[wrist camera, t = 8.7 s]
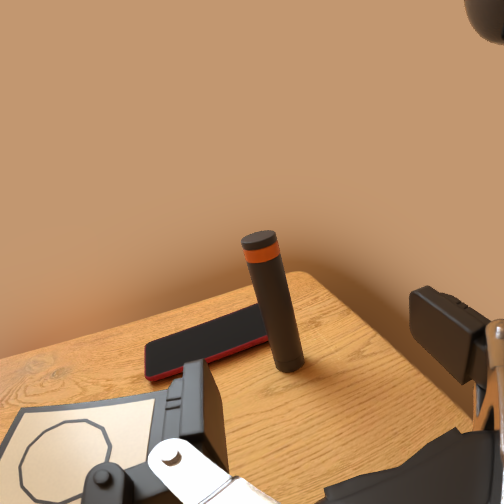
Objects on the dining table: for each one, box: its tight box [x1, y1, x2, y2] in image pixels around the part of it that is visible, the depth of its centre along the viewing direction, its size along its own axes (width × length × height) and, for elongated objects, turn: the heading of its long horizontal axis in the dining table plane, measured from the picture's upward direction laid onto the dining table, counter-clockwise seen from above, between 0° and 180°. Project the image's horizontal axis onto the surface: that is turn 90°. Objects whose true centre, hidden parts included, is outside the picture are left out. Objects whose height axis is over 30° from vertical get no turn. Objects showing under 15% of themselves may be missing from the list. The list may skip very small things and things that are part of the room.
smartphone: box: [145, 303, 268, 381], centre depth 33 cm, size 7×1×15 cm
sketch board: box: [0, 389, 167, 504], centre depth 18 cm, size 20×16×1 cm
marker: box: [241, 230, 304, 372], centre depth 25 cm, size 3×3×12 cm
